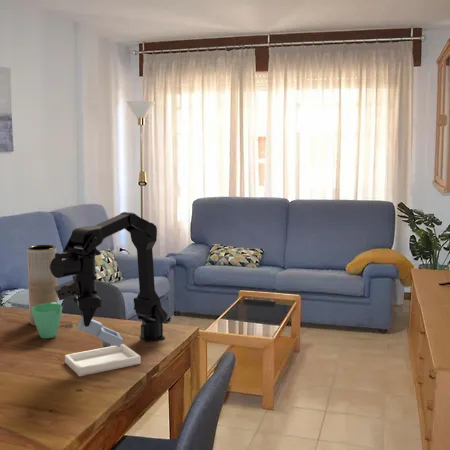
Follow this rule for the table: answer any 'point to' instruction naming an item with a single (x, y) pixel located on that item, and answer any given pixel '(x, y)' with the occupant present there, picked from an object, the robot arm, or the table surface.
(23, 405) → the table surface
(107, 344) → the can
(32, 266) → the vase
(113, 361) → the tray
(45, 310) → the mug
